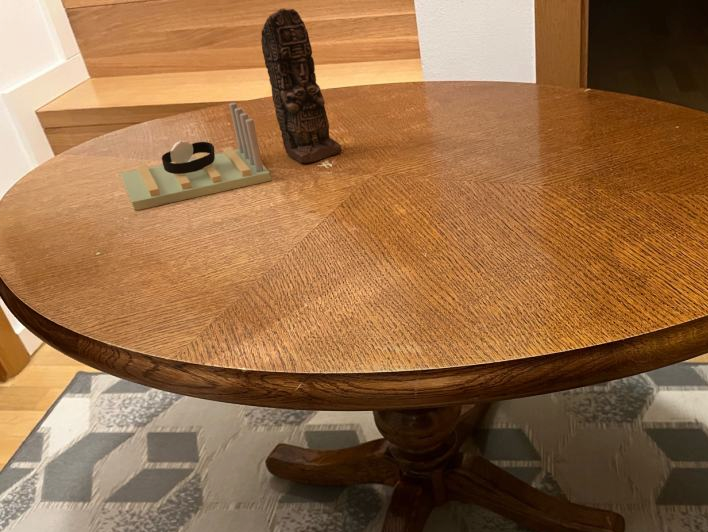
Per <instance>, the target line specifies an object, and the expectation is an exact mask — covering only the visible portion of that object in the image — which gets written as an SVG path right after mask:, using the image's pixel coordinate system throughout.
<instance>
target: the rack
mask: <svg viewBox="0 0 708 532" xmlns="http://www.w3.org/2000/svg"><path fill="white" fill-rule="evenodd" d="M228 106H229V110H230V114H231V119H232V124H233V129H234V132H235V138H236V142H237V147H238V149H234V148H233V147H232V146H226V147H222V152H219V153H215V159H214V162H213V163H212V164H210V165H208V166H206V167H204V168H203V169H202V170H198V171H196V172H190V173H185V174H173V173H169V172H167V171H165V169H164V166H163V164H160V165H154V166H149V167H148V165H147V164H146V163H141V164H137V165H136V167H137V169H134V170H129V171H125V172H120V173H119V175H120V178H121V181H122V184H123V186H124V189H125V191H126V194H127V196H128V198H129V201H130V202H131V205H132V207H133V210H134V212H135V211H140V210H145V209H149V208H154V207H158V206H163V205H167V204H172V203H177V202H180V201H185V200H190V199H195V198H199V197H203V196H207V195H213V194H217V193H221V192H226V191H231V190H235V189H239V188H244V187H249V186H253V185H257V184H262V183H267V182H271V181H272V176H271V172H270V171H269V169H267V168H266V166H265V165H264V164H263V161H262V155H261V151H260V147H259V146H260V145H259V142H258V137H257V132H256V127H255V121H254V118H249V115H248V113H247V112H243V109H242V108H243V107H238V105H237V103H236V102H230V103H229V104H228ZM194 156H195V157H194V158H190V159H189V160H188V161H187V162H191V161H192V160H196V159H199V158H202V157H204V156H207V155H206V154H205V153H196V154H194ZM170 163H171V162H170ZM172 163H175V162H172Z"/></svg>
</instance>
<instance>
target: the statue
mask: <svg viewBox="0 0 708 532" xmlns="http://www.w3.org/2000/svg"><path fill="white" fill-rule="evenodd" d="M260 33H261V39H260V43H261V51H262V55H263V59H264V64H265V65H264V66H265V68H266V70H267V71H266V72H267V75H268V77H269V84H270V86H271V97H272V101H273V106H274V108H275V109H274V110H275V111H274V113H275V116H276V121H277V123H278V126H279V130H280V131H281V139H282V145H283V147H284V149H285V153H286V154H287V155H288V156H289V157H290V158H291V159H292V160H295V161H297V162H299V164H310V163H313V162H314V163H315V162H318V161H320V160H321V161H322V160H323V159H326V158H329V157H331V156H335V155H338V154H340V153H341V152H342V145H341V144H340V143H339V142H338V141H336V140H335V139H333V138H332V137H330V122H329V119H328V116H327V111H326V106H325V104H326V102H325V98H324V96H323V93H322V91H321V87H320V86H319V84H318V83H317V76H316V73H315V71H316V68H315V60H314V57H313V56H312V55H313V49H312V45H311V42H310V36H309V31H308V30H307V28H306V24H305V22H304V20H303V19H302V17H301V15H300V13H298V11H297V10H296V9H294V8H289V9H286V8H280V9H277V10H276V11H275V12H273V13H271V14H270V15H269V16H268V17H267V18H266V20H265V22H264V24H263V27H262V29H261V32H260Z"/></svg>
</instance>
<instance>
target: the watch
mask: <svg viewBox="0 0 708 532" xmlns="http://www.w3.org/2000/svg"><path fill="white" fill-rule="evenodd" d="M196 153H204V154H205V153H206V154H207V155H206V156H204V157H202V158H199V159H196V160H192V161H191V162H187V161H188V160H189V159H191V157H192V156H193V155H194V156H195V154H196ZM215 154H216V152H215V146H214V144H213V143H211V142H208V141H198V142H192V143H190V142H188V141H186V140H182V139H179V141H176V142H175V143H174V144H173V146H172V147H171V149H170V150H169V151H167V152H165V153H164V154H163V155H162V156H161V162H162V165H163V166H164V169H165V171H167V172H169V173H173V174H185V173H190V172H196V171H198V170H202V169H203V168H204V167H206V166H208V165H210V164H212V163H213V162H214V159H215ZM170 162H171V163H170ZM172 162H175V163H172Z"/></svg>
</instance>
